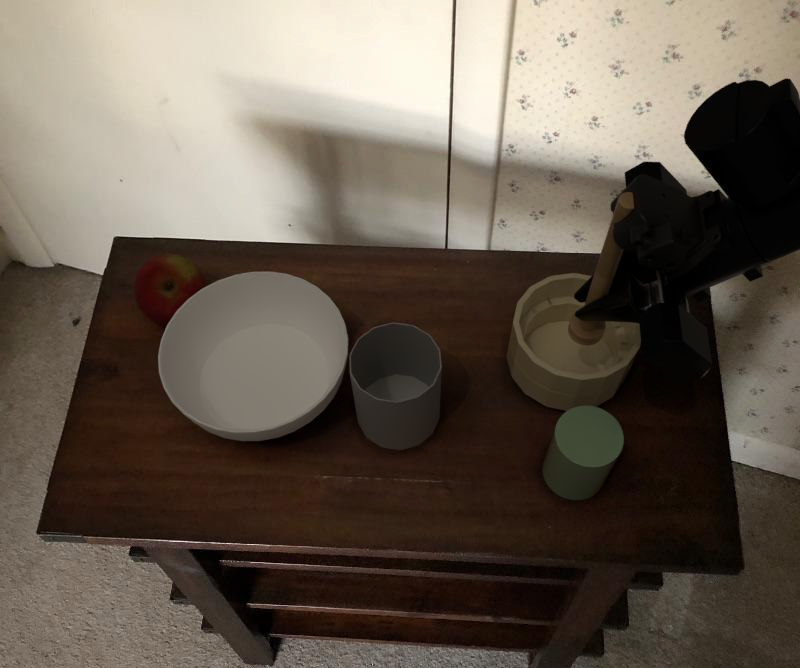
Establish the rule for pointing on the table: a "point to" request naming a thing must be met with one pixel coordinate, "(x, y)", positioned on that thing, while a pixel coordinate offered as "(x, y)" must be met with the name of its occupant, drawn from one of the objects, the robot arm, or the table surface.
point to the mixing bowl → (566, 348)
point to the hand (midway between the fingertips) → (577, 307)
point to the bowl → (254, 355)
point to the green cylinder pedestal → (582, 452)
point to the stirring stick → (602, 277)
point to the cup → (396, 385)
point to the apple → (166, 286)
